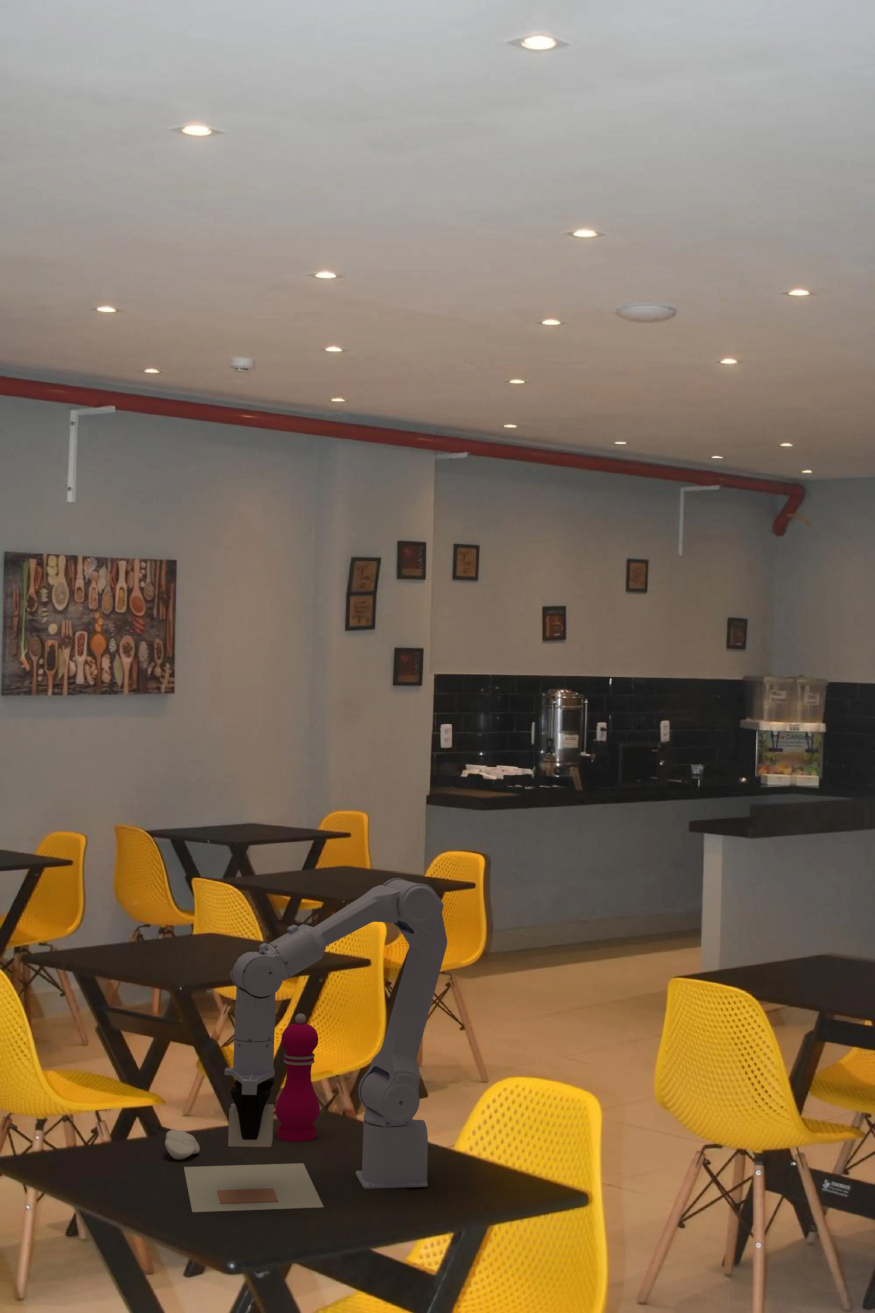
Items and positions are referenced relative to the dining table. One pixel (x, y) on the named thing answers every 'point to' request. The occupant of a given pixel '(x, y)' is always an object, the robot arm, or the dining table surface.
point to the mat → (251, 1186)
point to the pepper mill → (298, 1084)
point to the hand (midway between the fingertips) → (250, 1135)
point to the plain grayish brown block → (264, 1132)
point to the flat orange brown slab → (247, 1196)
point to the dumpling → (181, 1144)
